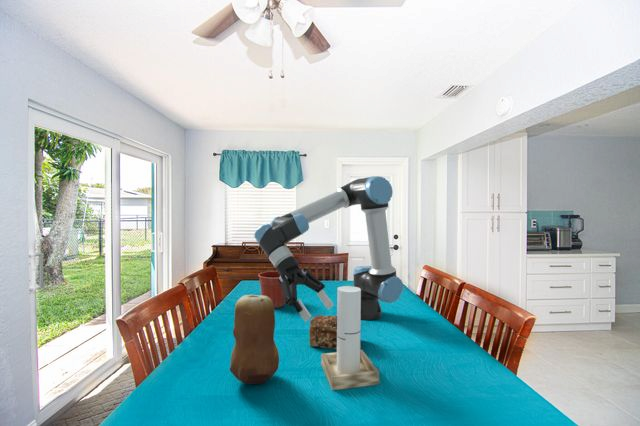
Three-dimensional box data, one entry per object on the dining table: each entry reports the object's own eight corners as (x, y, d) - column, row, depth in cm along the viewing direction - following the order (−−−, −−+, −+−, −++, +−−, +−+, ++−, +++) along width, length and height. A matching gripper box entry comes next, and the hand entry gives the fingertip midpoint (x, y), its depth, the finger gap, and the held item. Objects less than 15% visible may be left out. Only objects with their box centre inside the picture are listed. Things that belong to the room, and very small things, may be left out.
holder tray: (362, 360, 100) (362, 349, 100) (379, 384, 86) (379, 372, 86) (321, 364, 97) (321, 353, 97) (332, 390, 83) (332, 377, 83)
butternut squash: (268, 364, 97) (268, 287, 97) (286, 384, 86) (286, 297, 85) (224, 376, 90) (224, 293, 89) (238, 401, 78) (238, 306, 78)
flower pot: (296, 303, 160) (296, 273, 160) (275, 312, 146) (275, 279, 146) (272, 298, 169) (272, 269, 168) (251, 306, 155) (251, 275, 154)
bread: (308, 348, 109) (308, 320, 109) (313, 335, 119) (313, 310, 119) (360, 352, 106) (360, 324, 106) (360, 339, 117) (361, 313, 116)
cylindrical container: (359, 378, 88) (360, 292, 88) (335, 375, 89) (335, 291, 89) (360, 365, 95) (361, 286, 94) (338, 363, 96) (339, 285, 96)
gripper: (299, 263, 117) (332, 308, 109) (253, 275, 96) (290, 332, 88) (310, 251, 114) (345, 296, 106) (265, 260, 93) (304, 318, 85)
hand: (320, 313), depth 97 cm, fingers open, 13 cm apart
